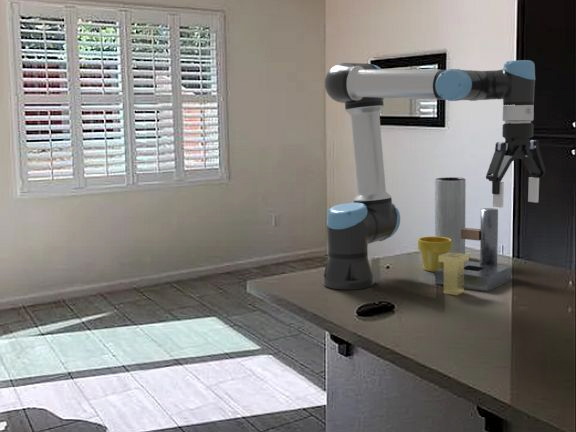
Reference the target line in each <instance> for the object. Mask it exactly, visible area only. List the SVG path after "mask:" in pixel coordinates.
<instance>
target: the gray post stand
mask: <svg viewBox="0 0 576 432" xmlns="http://www.w3.org/2000/svg"><path fill="white" fill-rule="evenodd" d="M498 236H499V209H498V208H494V207H492V208H491V207H490V208H488V207H487V208H480V228H472V227H465V228H463V229H461V239H465V240H470V241H477V242H478V241H479V243H480V246H479V247H480V255H479V256H480V258H479V259H480V260H479V262H478V261H472V260H471V261H470V260H468V261H465V262H464V289H468V290H474V291H475V290H476V291H481V292H490V291H491V290H493V289H495V288H497V287H499V286H501V285H503V284H505V283H507V282H509V281H511V279H512V278H511V277H512V272H511V271H512V266H509V265H503V264H498V257H499V256H498V254H499V253H498V252H499V251H498V250H499V249H498V248H499V247H498V246H499V245H498V242H499V241H498V240H499V237H498ZM434 273H435V274H434V281H435V285H443V286H444V267H442V268H439V269H437V270H435V271H434Z"/></svg>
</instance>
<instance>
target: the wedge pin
mask: <svg viewBox="0 0 576 432" xmlns="http://www.w3.org/2000/svg"><path fill="white" fill-rule="evenodd" d="M465 261H470V254H468V253H465V254H461V253H453V252H448V253H445V254H442V255H440V256H439V262H444V285H443V294H447V295H451V296H452V295H453V296H458V295H460V294H463V293H464V292H465V288H464V262H465Z"/></svg>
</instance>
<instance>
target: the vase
mask: <svg viewBox="0 0 576 432" xmlns="http://www.w3.org/2000/svg"><path fill="white" fill-rule="evenodd" d="M466 181H467V180H466V178H464V177H454V176H453V177H437V178H435V180H434V237H446V238H449V239H451V250H450V251H449V252H453V253H461V254H466V239H461V229H463V228H466V185H467V184H466Z"/></svg>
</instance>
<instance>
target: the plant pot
mask: <svg viewBox="0 0 576 432" xmlns="http://www.w3.org/2000/svg"><path fill="white" fill-rule="evenodd" d="M417 249H418V251H419V252H420V257H421V263H422V267H423V270H424V271H428V272H435V270H437V269H439V268H442V267H444V262H439V256H440V255H442V254H445V253H448V252H449V251H450V250H451V239H449V238H446V237H435V236H421V237H419V238H417Z"/></svg>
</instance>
